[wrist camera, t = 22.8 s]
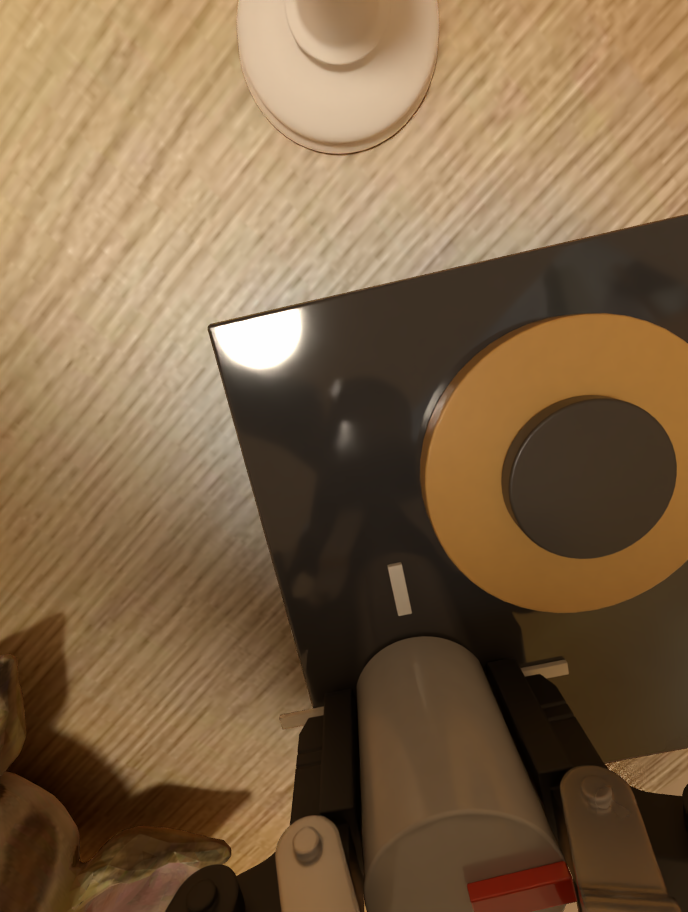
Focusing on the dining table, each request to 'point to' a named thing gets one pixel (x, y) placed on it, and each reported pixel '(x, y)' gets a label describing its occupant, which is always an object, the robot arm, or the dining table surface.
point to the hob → (399, 489)
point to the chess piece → (338, 66)
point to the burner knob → (448, 791)
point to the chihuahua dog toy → (58, 842)
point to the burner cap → (564, 463)
